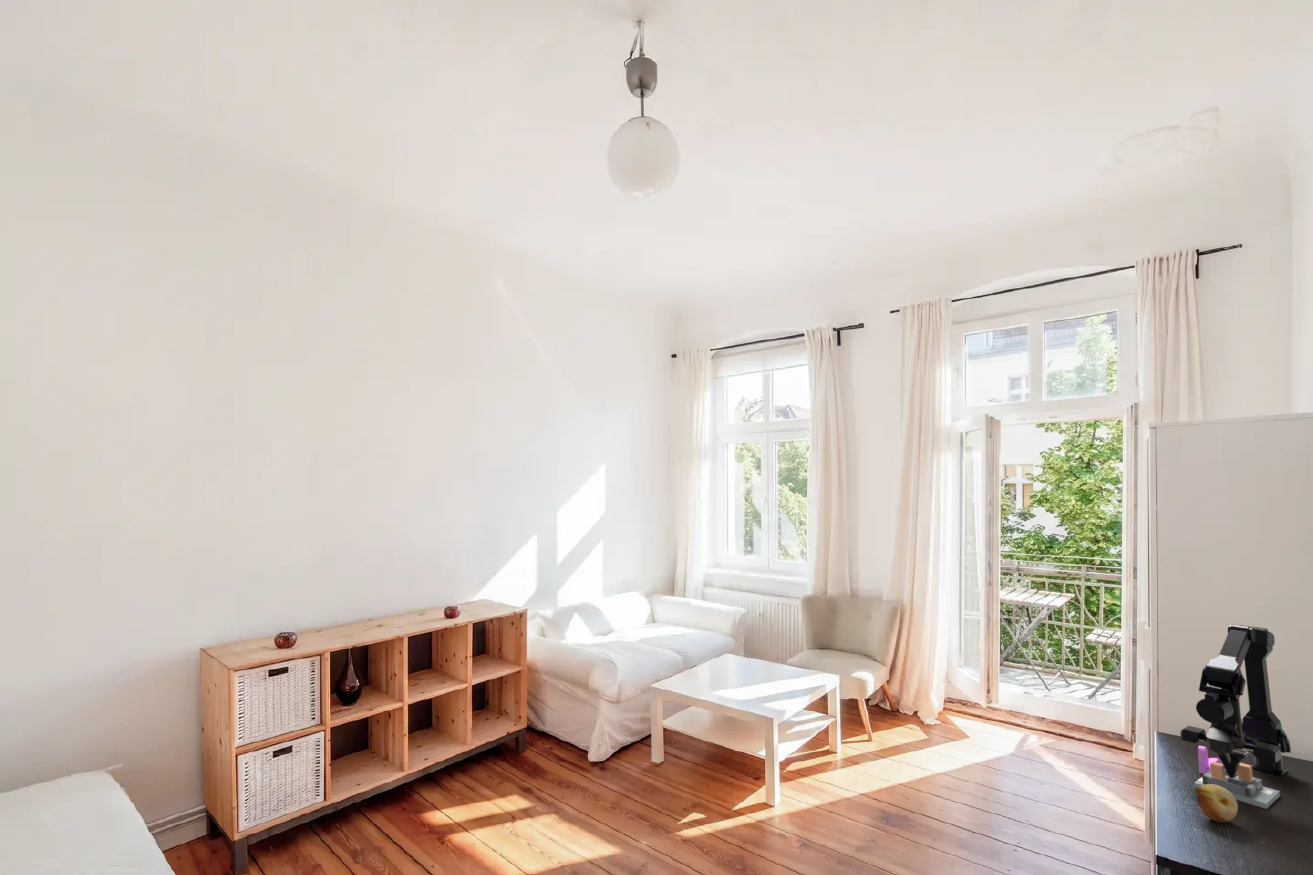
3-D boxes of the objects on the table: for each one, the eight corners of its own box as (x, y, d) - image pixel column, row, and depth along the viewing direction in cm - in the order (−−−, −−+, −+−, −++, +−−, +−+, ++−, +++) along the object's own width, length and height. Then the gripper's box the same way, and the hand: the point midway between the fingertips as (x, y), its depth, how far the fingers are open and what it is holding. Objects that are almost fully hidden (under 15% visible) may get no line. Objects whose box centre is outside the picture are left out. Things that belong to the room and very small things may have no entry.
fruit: (1199, 823, 148) (1196, 787, 149) (1194, 808, 155) (1192, 774, 155) (1242, 832, 143) (1239, 796, 144) (1236, 817, 150) (1233, 782, 151)
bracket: (1225, 780, 170) (1223, 753, 171) (1199, 773, 175) (1197, 747, 175) (1236, 767, 178) (1234, 742, 179) (1211, 761, 183) (1208, 736, 183)
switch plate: (1209, 775, 173) (1208, 763, 173) (1279, 795, 161) (1278, 782, 161) (1194, 787, 166) (1193, 774, 166) (1266, 808, 154) (1265, 795, 155)
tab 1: (1213, 780, 167) (1211, 760, 167) (1228, 784, 164) (1226, 764, 165) (1209, 783, 165) (1208, 763, 165) (1224, 787, 163) (1222, 767, 163)
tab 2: (1240, 781, 166) (1238, 761, 166) (1255, 785, 164) (1253, 765, 164) (1236, 784, 164) (1234, 764, 165) (1251, 788, 162) (1250, 768, 162)
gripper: (1170, 711, 167) (1175, 772, 166) (1266, 732, 152) (1272, 800, 150) (1185, 703, 174) (1190, 762, 172) (1278, 723, 158) (1284, 788, 157)
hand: (1231, 777), depth 163 cm, fingers closed
